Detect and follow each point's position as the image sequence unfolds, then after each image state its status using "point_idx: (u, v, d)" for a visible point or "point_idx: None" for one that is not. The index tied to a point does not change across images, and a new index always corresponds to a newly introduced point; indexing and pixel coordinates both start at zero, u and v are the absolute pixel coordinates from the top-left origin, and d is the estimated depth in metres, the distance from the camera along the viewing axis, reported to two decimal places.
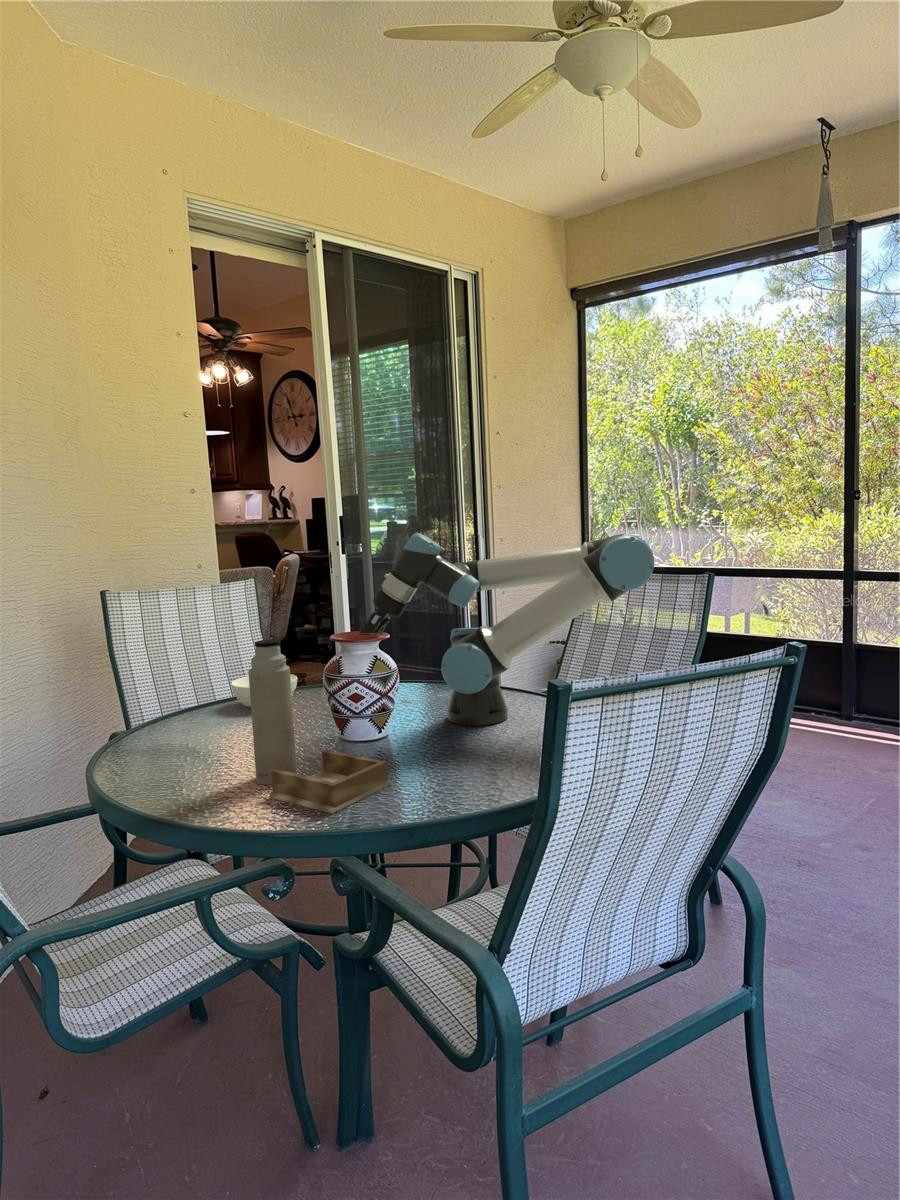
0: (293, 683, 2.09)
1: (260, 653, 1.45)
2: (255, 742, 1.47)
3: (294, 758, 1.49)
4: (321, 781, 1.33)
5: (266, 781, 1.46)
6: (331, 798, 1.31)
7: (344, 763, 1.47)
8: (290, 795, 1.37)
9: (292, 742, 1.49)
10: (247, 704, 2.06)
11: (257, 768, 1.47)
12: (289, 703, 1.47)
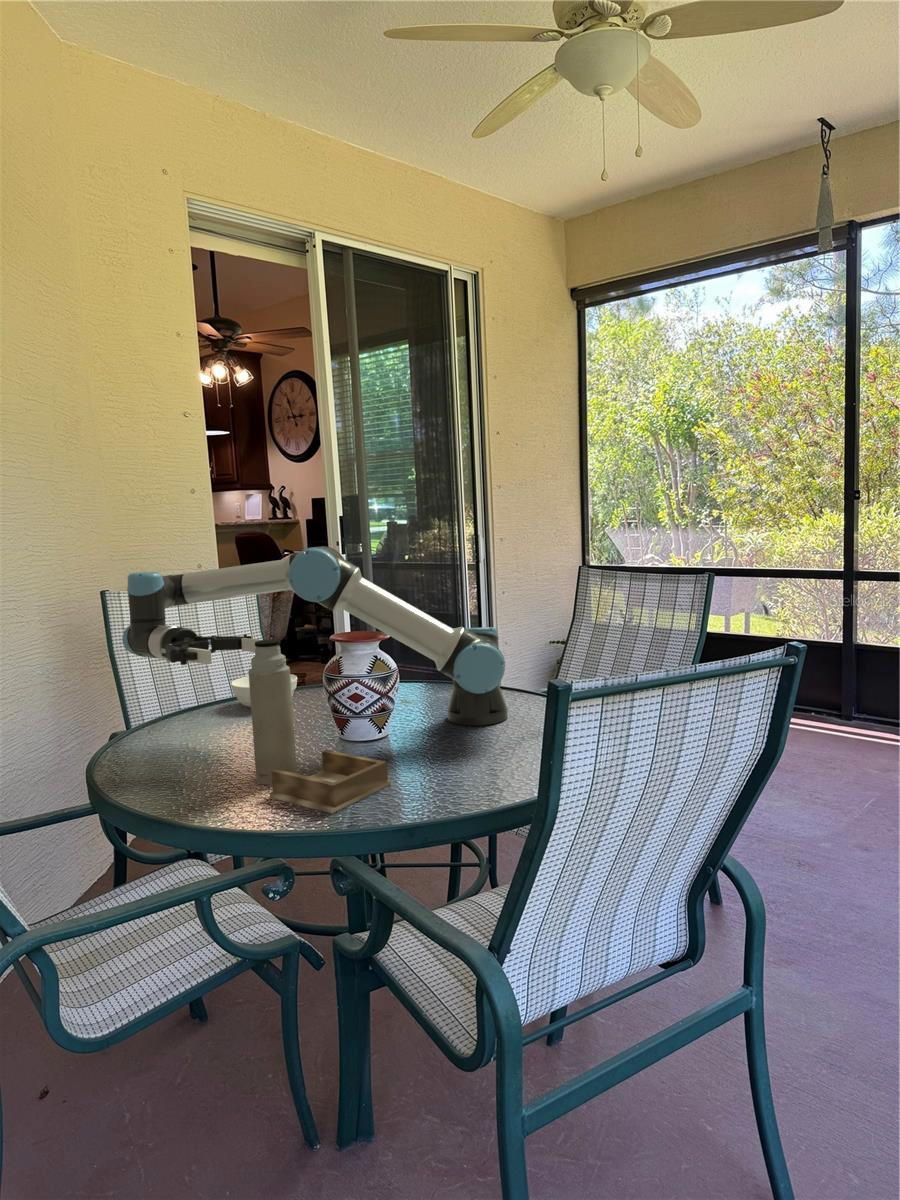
0: (293, 683, 2.09)
1: (260, 653, 1.45)
2: (255, 742, 1.47)
3: (294, 758, 1.49)
4: (321, 781, 1.33)
5: (266, 781, 1.46)
6: (331, 798, 1.31)
7: (344, 763, 1.47)
8: (290, 795, 1.37)
9: (292, 742, 1.49)
10: (247, 704, 2.06)
11: (257, 768, 1.47)
12: (289, 703, 1.47)
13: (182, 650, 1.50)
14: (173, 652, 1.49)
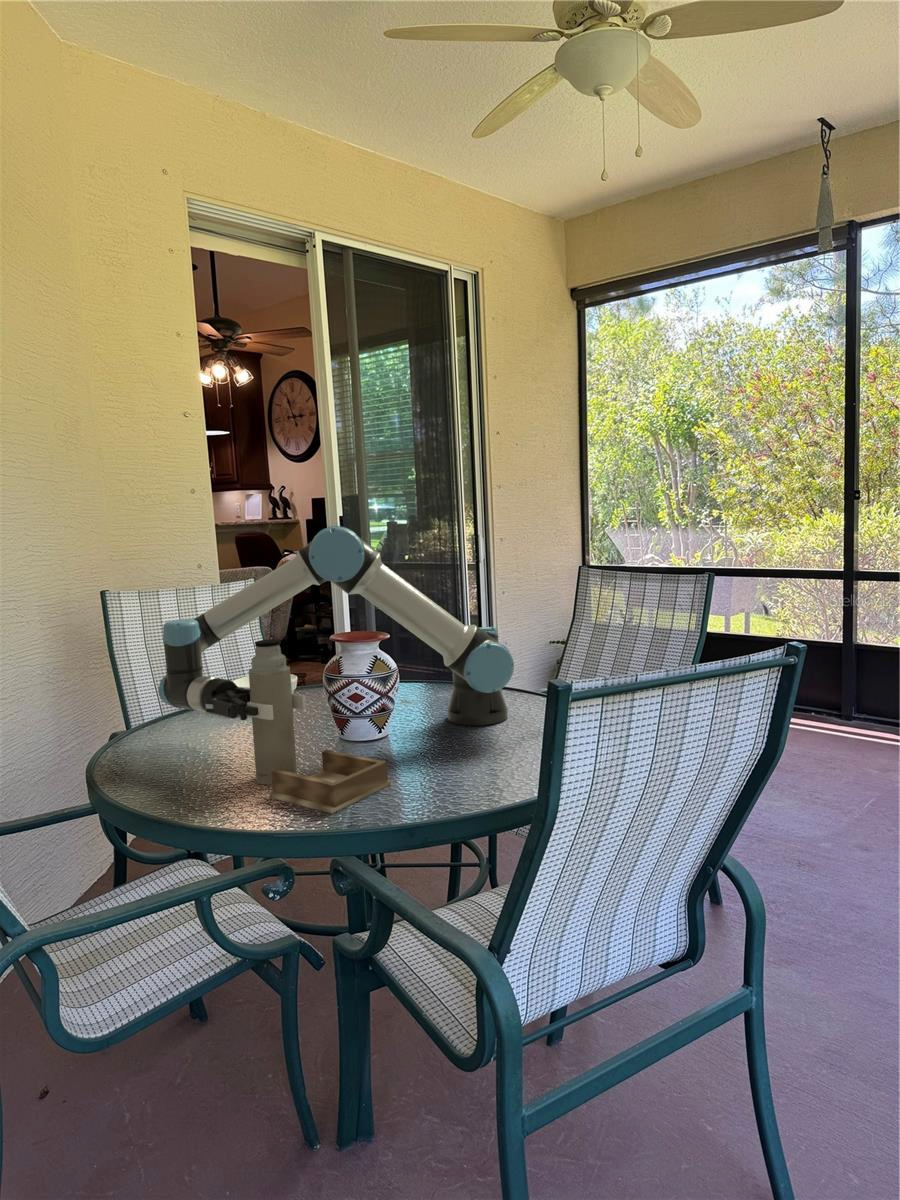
0: (293, 683, 2.09)
1: (260, 653, 1.45)
2: (255, 742, 1.47)
3: (294, 758, 1.49)
4: (321, 781, 1.33)
5: (266, 781, 1.46)
6: (331, 798, 1.31)
7: (344, 763, 1.47)
8: (290, 795, 1.37)
9: (292, 742, 1.49)
10: None
11: (257, 768, 1.47)
12: (289, 703, 1.47)
13: (243, 705, 1.45)
14: (233, 707, 1.44)
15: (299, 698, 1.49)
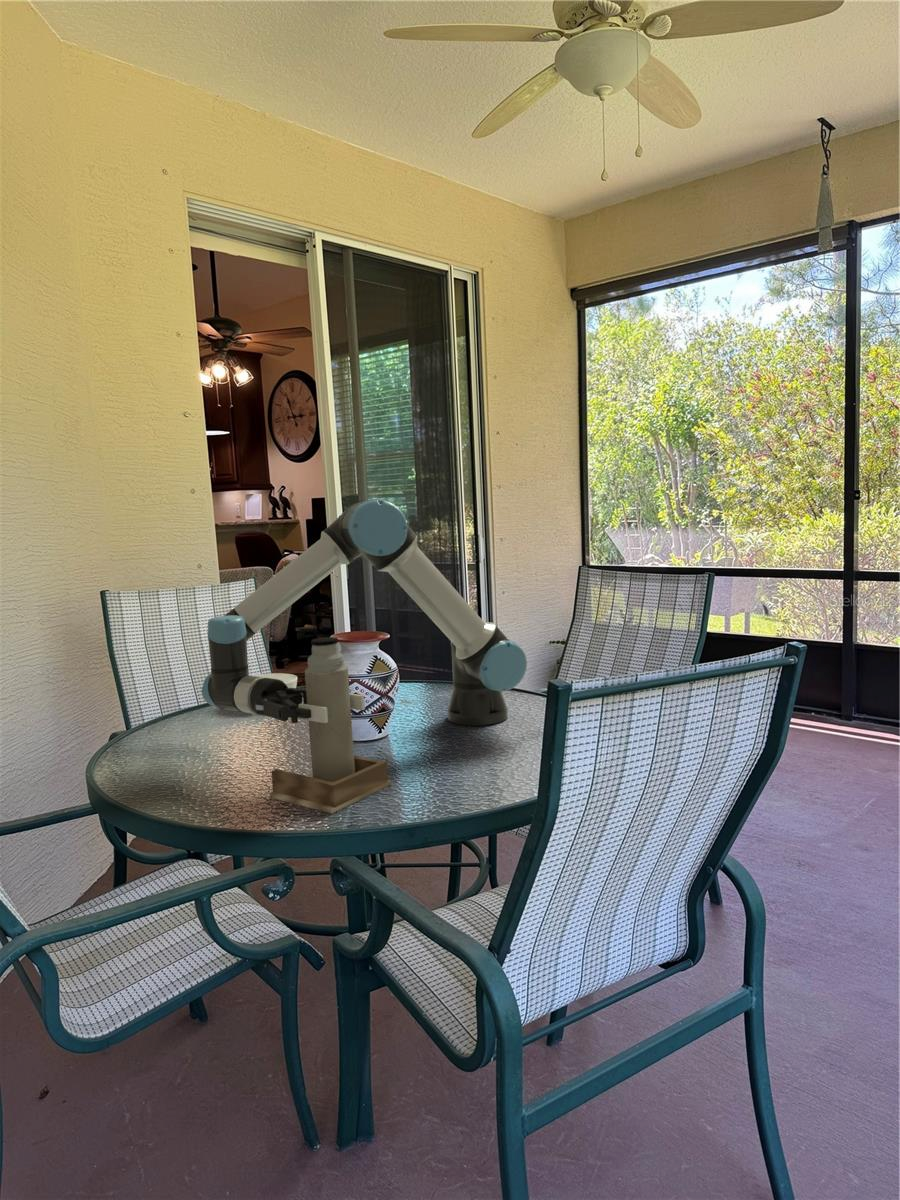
0: (293, 683, 2.09)
1: (318, 652, 1.37)
2: (313, 746, 1.39)
3: (353, 762, 1.41)
4: (321, 781, 1.33)
5: None
6: (331, 798, 1.31)
7: None
8: (290, 795, 1.37)
9: (351, 746, 1.40)
10: None
11: (315, 773, 1.39)
12: (348, 705, 1.39)
13: (294, 707, 1.36)
14: (284, 710, 1.35)
15: (358, 698, 1.41)
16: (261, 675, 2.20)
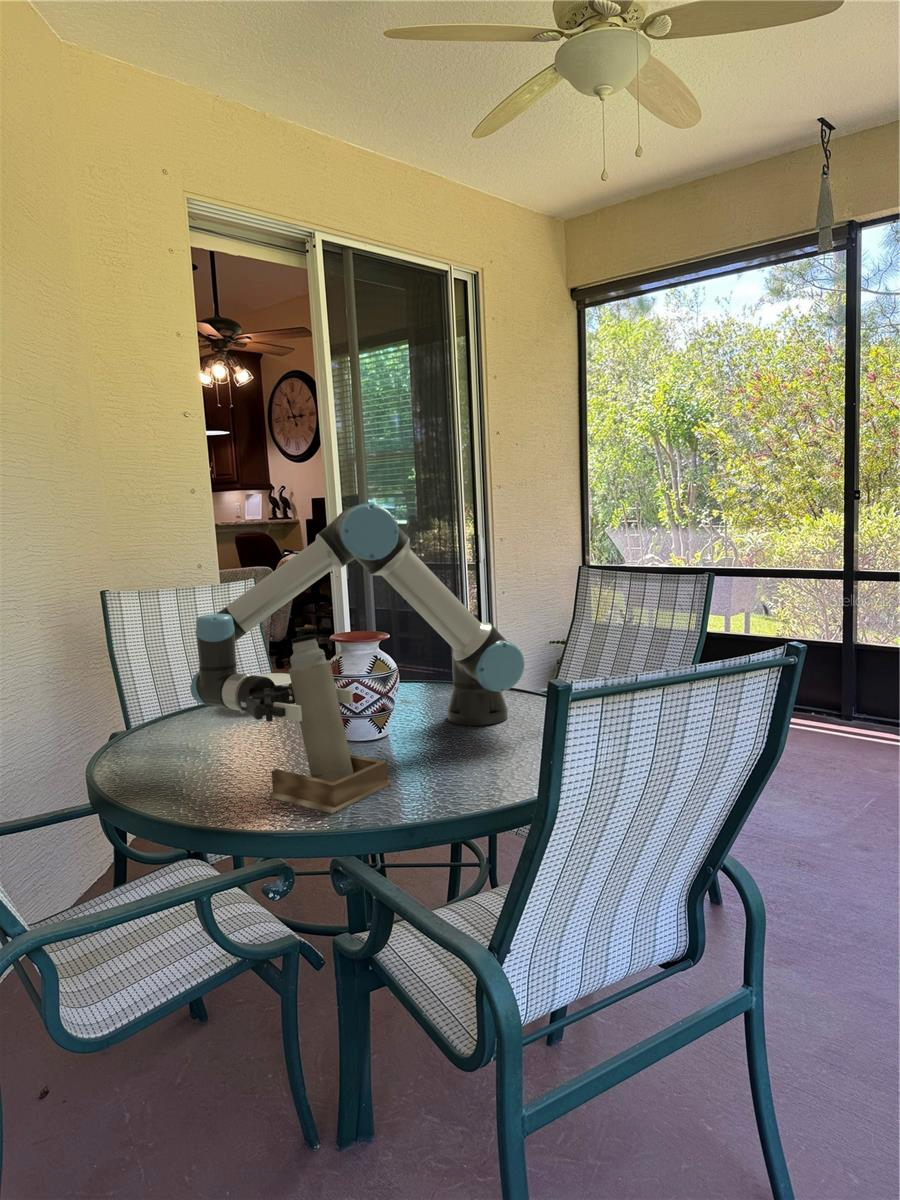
0: None
1: (297, 649, 1.41)
2: (305, 742, 1.41)
3: (348, 755, 1.43)
4: (321, 781, 1.33)
5: None
6: (331, 798, 1.31)
7: None
8: (290, 795, 1.37)
9: (343, 738, 1.42)
10: None
11: (311, 769, 1.41)
12: (334, 697, 1.42)
13: (268, 705, 1.37)
14: (258, 708, 1.36)
15: (346, 692, 1.45)
16: (261, 675, 2.20)
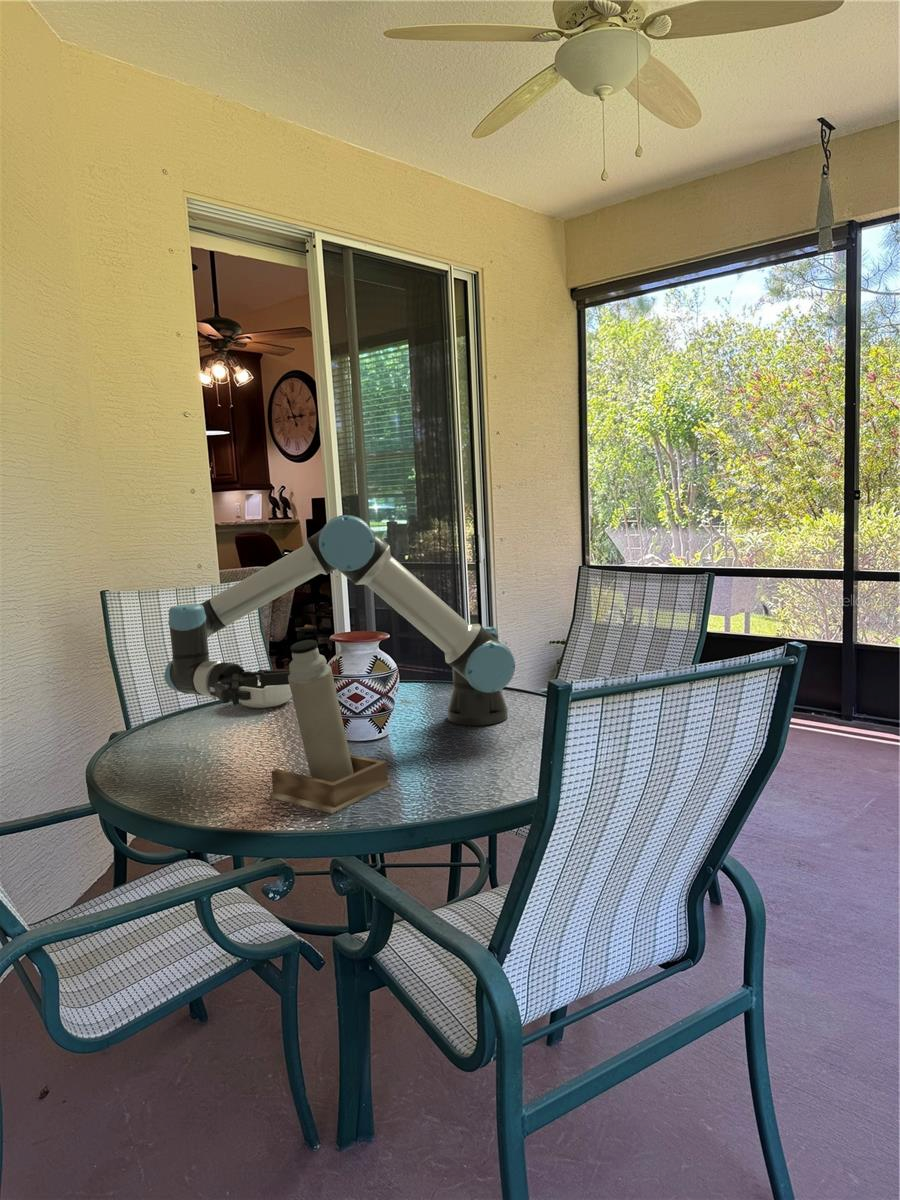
0: None
1: (297, 660, 1.34)
2: (305, 748, 1.39)
3: (348, 759, 1.41)
4: (321, 781, 1.33)
5: None
6: (331, 798, 1.31)
7: None
8: (290, 795, 1.37)
9: (344, 745, 1.40)
10: (247, 704, 2.06)
11: (311, 773, 1.40)
12: (335, 707, 1.37)
13: (234, 689, 1.43)
14: (225, 692, 1.42)
15: None
16: None
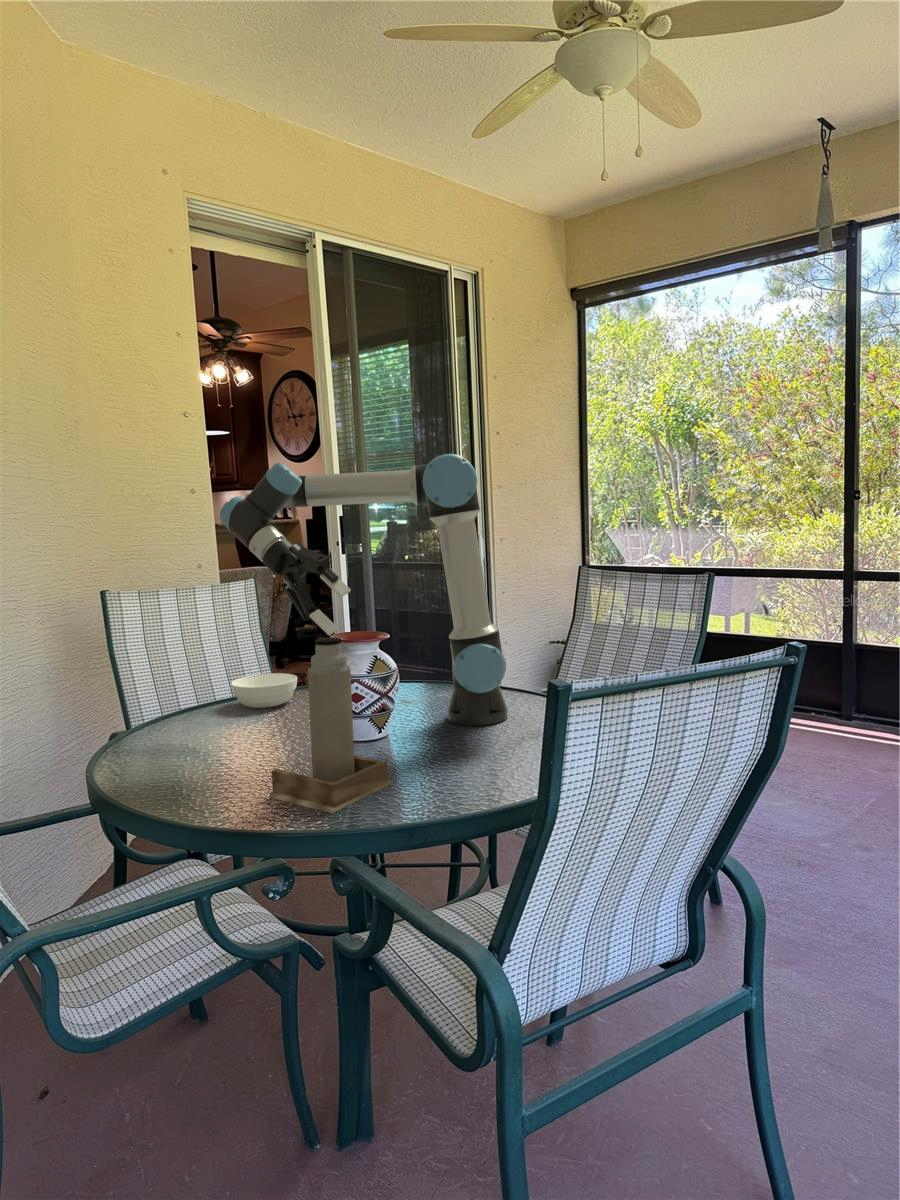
0: (293, 683, 2.09)
1: (319, 651, 1.39)
2: (312, 744, 1.41)
3: (352, 763, 1.42)
4: (321, 781, 1.33)
5: None
6: (331, 798, 1.31)
7: None
8: (290, 795, 1.37)
9: (350, 746, 1.41)
10: (247, 704, 2.06)
11: (313, 771, 1.41)
12: (348, 706, 1.40)
13: (328, 566, 1.57)
14: (327, 559, 1.56)
15: (334, 626, 1.66)
16: (261, 675, 2.20)
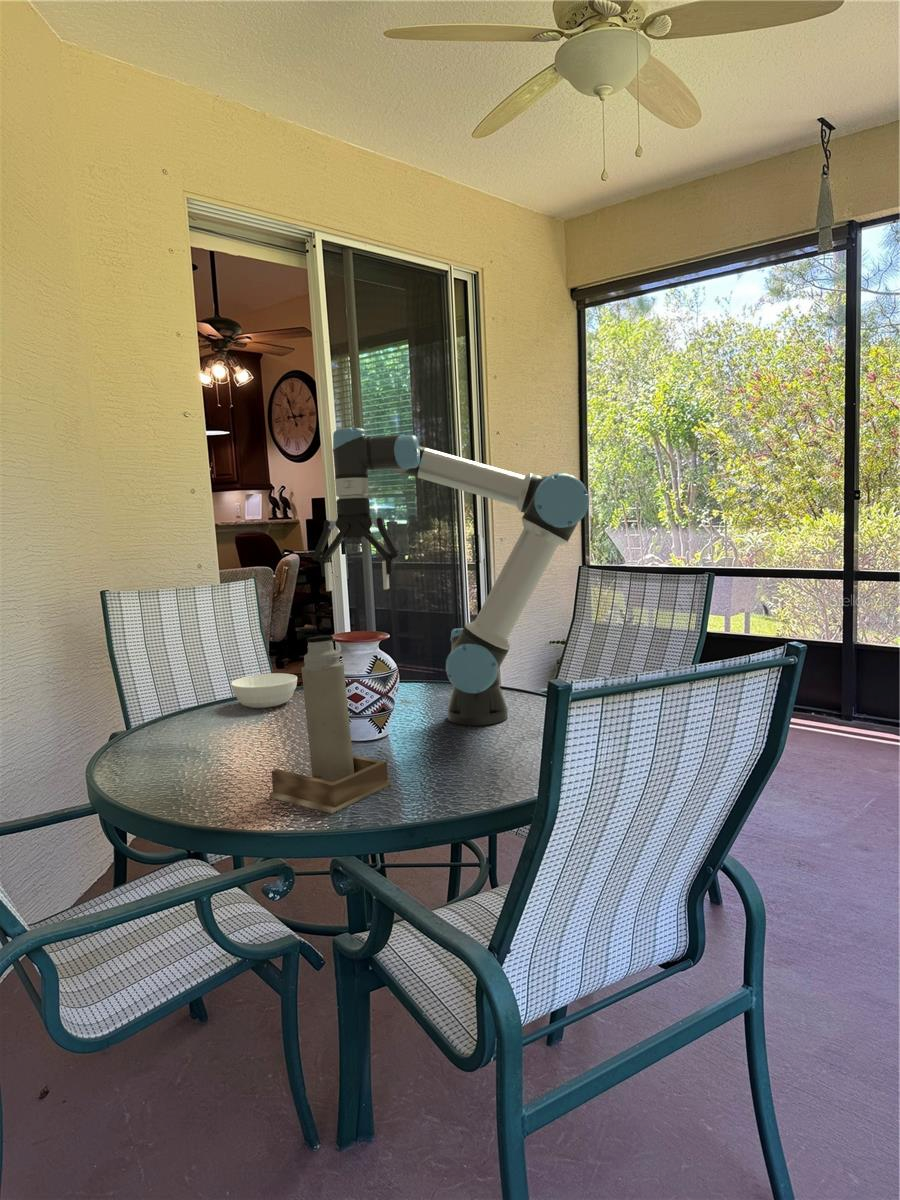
0: (293, 683, 2.09)
1: (311, 649, 1.41)
2: (309, 742, 1.41)
3: (350, 760, 1.42)
4: (321, 781, 1.33)
5: None
6: (331, 798, 1.31)
7: None
8: (290, 795, 1.37)
9: (347, 742, 1.42)
10: (247, 704, 2.06)
11: (312, 769, 1.41)
12: (342, 701, 1.41)
13: None
14: (398, 556, 1.72)
15: (332, 586, 1.75)
16: (261, 675, 2.20)
